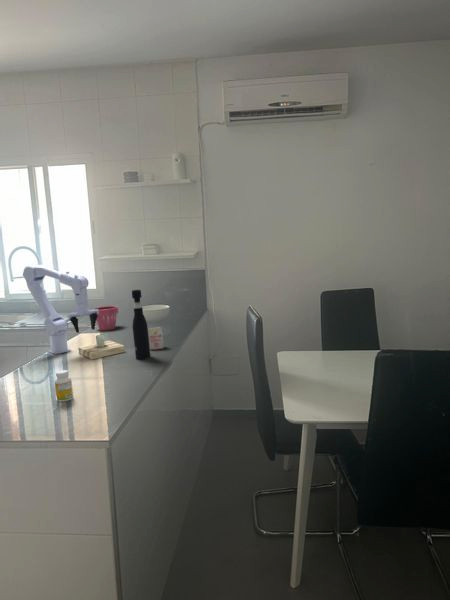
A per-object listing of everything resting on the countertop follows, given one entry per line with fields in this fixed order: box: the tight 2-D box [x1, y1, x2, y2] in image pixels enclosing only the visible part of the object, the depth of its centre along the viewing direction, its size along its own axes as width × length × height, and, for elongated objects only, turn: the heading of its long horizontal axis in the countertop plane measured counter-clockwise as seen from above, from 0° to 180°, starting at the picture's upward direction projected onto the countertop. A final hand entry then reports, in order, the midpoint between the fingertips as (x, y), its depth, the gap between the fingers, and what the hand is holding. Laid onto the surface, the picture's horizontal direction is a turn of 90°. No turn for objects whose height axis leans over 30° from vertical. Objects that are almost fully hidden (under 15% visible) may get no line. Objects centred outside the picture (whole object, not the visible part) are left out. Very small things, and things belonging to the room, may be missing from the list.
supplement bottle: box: [54, 369, 74, 403], centre depth 159 cm, size 5×5×10 cm
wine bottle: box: [131, 289, 152, 361], centre depth 204 cm, size 6×6×30 cm
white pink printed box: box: [148, 326, 165, 351], centre depth 220 cm, size 4×7×10 cm, turn 98°
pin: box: [95, 334, 105, 349], centre depth 220 cm, size 4×4×8 cm
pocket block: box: [77, 340, 125, 360], centre depth 220 cm, size 16×16×3 cm
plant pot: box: [92, 305, 119, 331], centre depth 276 cm, size 14×14×13 cm
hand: (85, 330), depth 222 cm, fingers open, 7 cm apart
